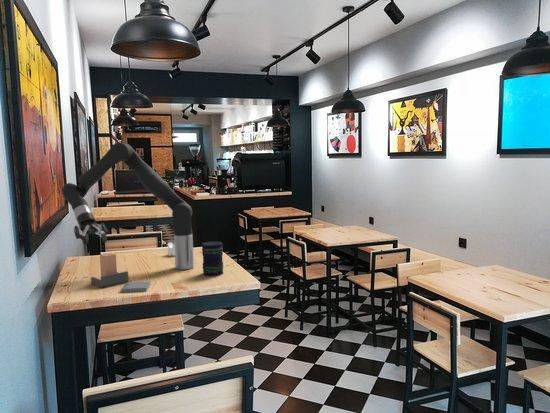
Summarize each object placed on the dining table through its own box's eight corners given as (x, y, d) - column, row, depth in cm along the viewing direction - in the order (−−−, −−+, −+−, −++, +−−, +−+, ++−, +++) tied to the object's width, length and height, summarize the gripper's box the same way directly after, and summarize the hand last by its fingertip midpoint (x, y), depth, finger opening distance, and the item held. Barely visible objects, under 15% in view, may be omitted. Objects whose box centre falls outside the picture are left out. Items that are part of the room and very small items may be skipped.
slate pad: (150, 284, 180) (150, 281, 180) (146, 291, 170) (146, 287, 170) (127, 285, 179) (126, 282, 179) (121, 292, 169) (121, 288, 169)
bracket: (173, 257, 237) (173, 244, 236) (168, 255, 242) (167, 242, 241) (193, 253, 245) (193, 241, 245) (187, 252, 251) (187, 240, 250)
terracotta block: (101, 280, 183) (99, 254, 182) (112, 278, 187) (110, 252, 186) (106, 282, 180) (104, 256, 179) (117, 280, 184) (115, 254, 183)
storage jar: (198, 274, 196) (197, 243, 195) (213, 270, 204) (212, 240, 203) (213, 277, 190) (212, 245, 189) (227, 273, 198) (227, 242, 197)
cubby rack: (91, 283, 183) (90, 272, 182) (117, 278, 191) (116, 267, 191) (102, 288, 175) (101, 277, 175) (128, 282, 184) (127, 271, 183)
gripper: (70, 212, 189) (82, 240, 183) (101, 210, 200) (113, 235, 193) (67, 223, 193) (78, 250, 187) (97, 220, 204) (108, 245, 197)
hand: (96, 242), depth 190 cm, fingers open, 8 cm apart
